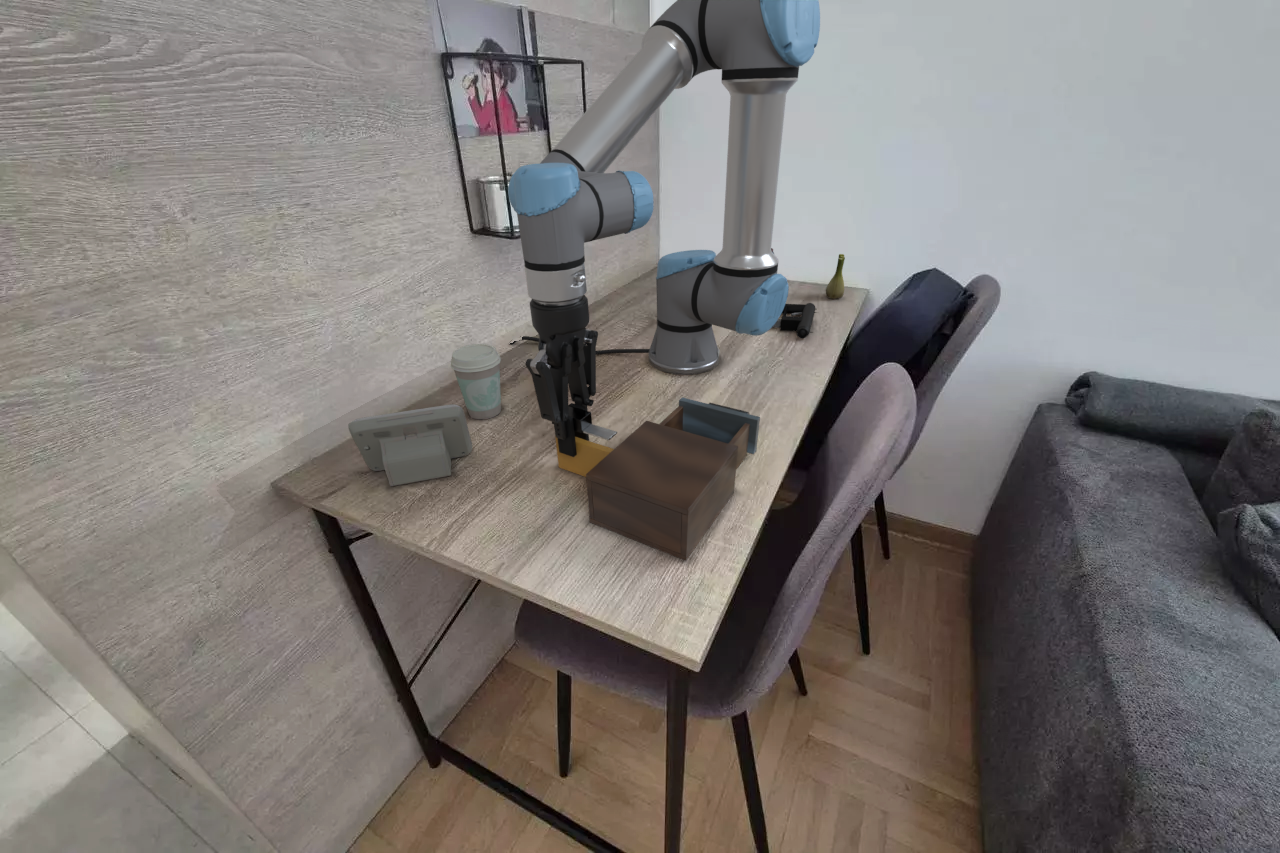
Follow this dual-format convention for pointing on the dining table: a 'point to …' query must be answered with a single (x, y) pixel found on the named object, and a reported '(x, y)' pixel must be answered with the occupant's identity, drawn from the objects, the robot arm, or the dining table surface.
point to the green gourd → (836, 281)
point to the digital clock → (413, 442)
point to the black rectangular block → (588, 424)
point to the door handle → (797, 319)
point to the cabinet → (662, 487)
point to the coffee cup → (478, 379)
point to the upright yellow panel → (582, 456)
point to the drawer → (717, 424)
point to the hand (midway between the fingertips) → (574, 447)
